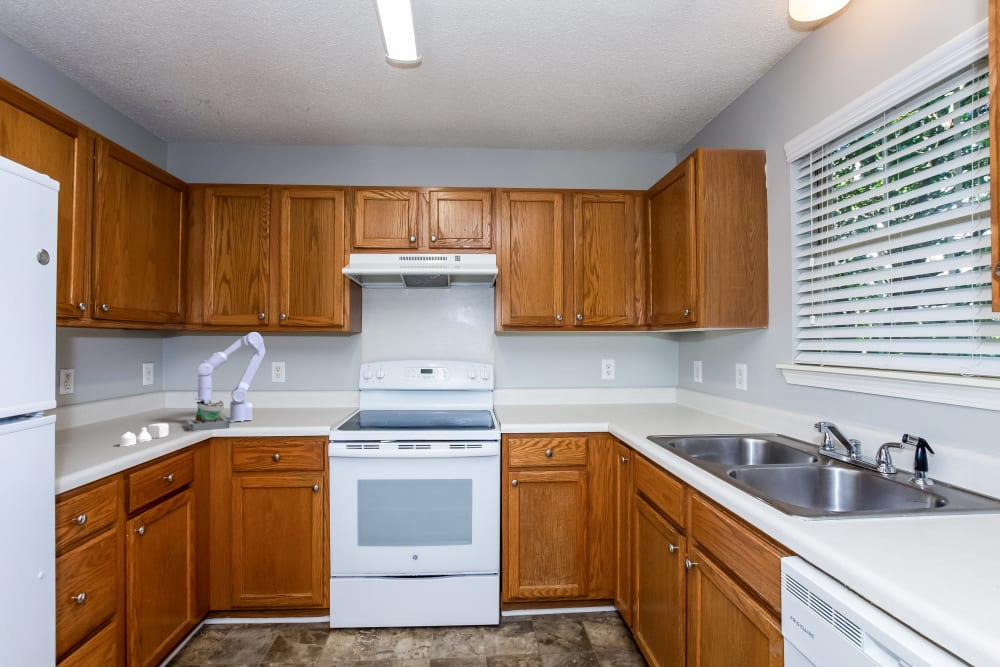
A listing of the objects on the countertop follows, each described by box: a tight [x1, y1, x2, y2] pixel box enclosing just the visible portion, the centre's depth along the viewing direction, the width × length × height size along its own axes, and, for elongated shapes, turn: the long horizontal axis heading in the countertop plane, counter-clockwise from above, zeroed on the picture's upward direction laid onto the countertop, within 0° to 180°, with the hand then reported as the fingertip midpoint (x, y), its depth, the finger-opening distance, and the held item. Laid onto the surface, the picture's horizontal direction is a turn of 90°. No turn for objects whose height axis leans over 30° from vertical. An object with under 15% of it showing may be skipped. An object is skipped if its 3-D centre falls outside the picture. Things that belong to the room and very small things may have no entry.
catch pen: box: [185, 415, 230, 432], centre depth 218 cm, size 15×16×3 cm
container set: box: [119, 422, 170, 447], centre depth 188 cm, size 20×5×6 cm, turn 177°
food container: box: [193, 400, 225, 424], centre depth 220 cm, size 12×6×10 cm, turn 165°
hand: (204, 417), depth 226 cm, fingers open, 7 cm apart
